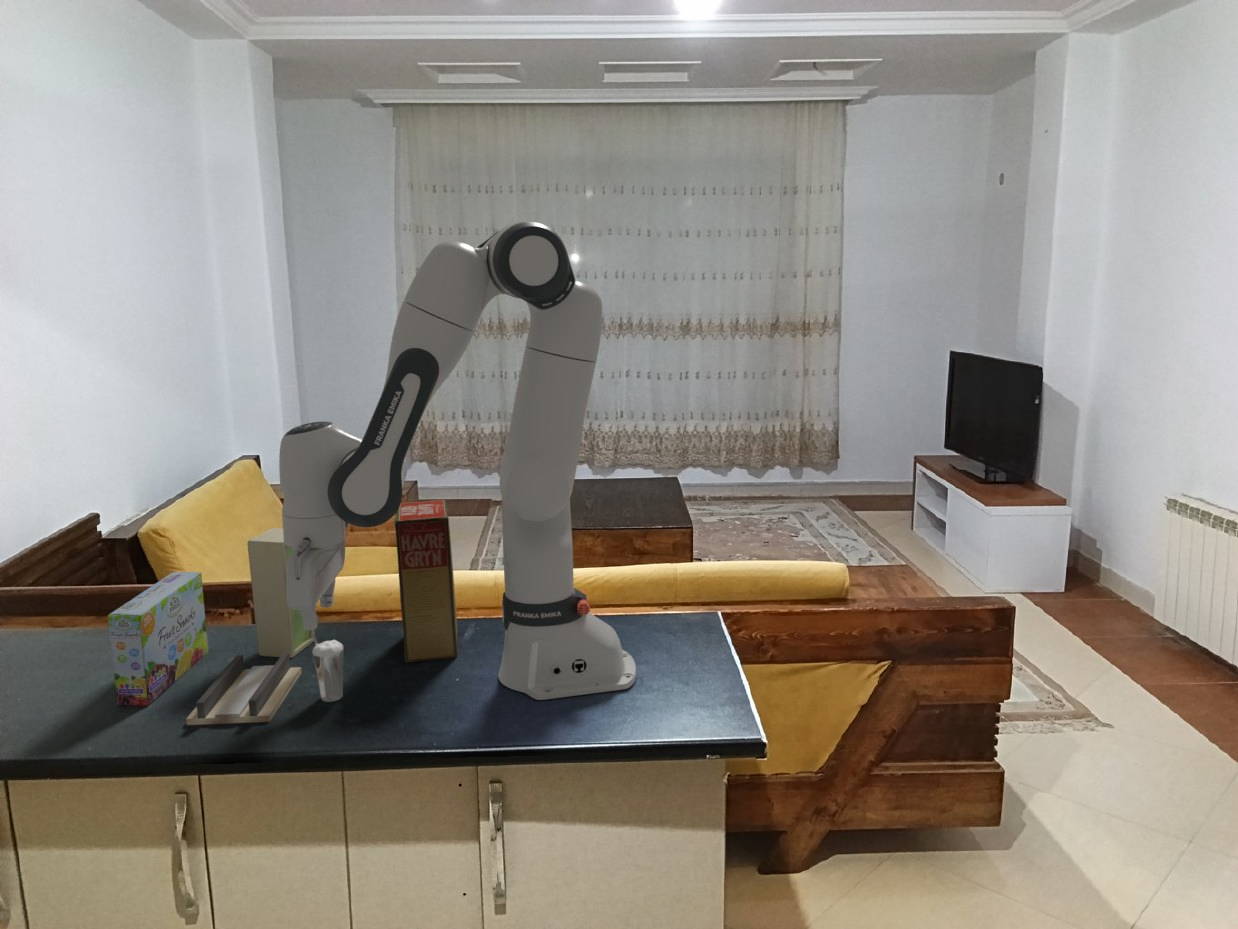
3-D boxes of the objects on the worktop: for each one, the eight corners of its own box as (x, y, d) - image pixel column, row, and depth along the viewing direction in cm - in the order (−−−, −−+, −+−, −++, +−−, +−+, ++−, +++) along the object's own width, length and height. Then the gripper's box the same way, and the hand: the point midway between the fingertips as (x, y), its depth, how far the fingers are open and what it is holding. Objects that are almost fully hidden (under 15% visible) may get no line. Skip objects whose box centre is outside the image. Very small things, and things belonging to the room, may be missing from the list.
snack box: (152, 707, 141) (140, 614, 138) (116, 707, 141) (103, 615, 138) (211, 651, 162) (202, 569, 159) (179, 651, 162) (169, 570, 159)
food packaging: (404, 634, 168) (395, 501, 163) (456, 629, 170) (449, 498, 165) (403, 663, 156) (393, 521, 150) (459, 657, 157) (451, 517, 152)
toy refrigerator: (296, 659, 158) (285, 542, 154) (257, 656, 159) (245, 540, 155) (319, 641, 166) (310, 529, 161) (282, 638, 167) (272, 527, 163)
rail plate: (301, 672, 152) (299, 653, 152) (269, 721, 136) (267, 699, 135) (227, 675, 152) (225, 655, 151) (186, 725, 135) (183, 703, 134)
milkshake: (329, 687, 147) (324, 628, 145) (353, 695, 144) (348, 635, 142) (306, 698, 143) (301, 638, 141) (330, 706, 140) (325, 645, 138)
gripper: (317, 550, 128) (323, 643, 131) (350, 512, 148) (354, 594, 151) (271, 550, 128) (277, 643, 130) (310, 512, 148) (315, 594, 150)
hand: (319, 616), depth 141 cm, fingers open, 8 cm apart
